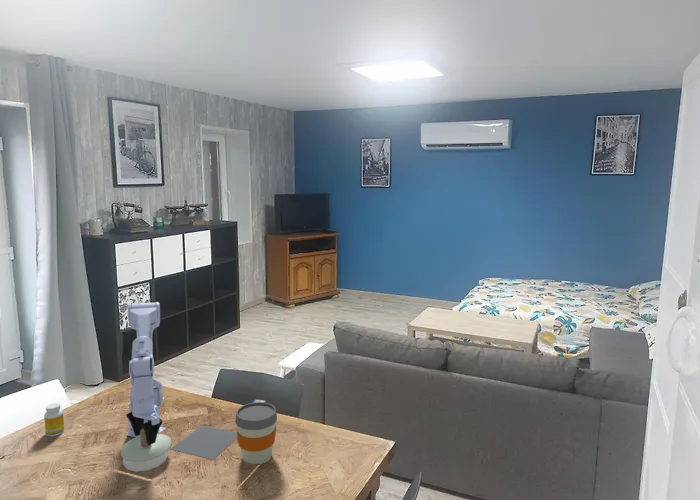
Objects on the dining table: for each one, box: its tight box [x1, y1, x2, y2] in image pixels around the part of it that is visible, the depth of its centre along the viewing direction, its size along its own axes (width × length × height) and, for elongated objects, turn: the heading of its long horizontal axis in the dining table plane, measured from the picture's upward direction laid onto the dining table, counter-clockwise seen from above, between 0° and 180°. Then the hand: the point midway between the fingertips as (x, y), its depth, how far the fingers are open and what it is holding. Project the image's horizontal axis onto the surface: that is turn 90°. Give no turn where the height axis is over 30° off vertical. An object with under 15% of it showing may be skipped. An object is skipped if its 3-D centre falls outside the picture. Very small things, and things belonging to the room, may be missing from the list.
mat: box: [170, 424, 238, 461], centre depth 153 cm, size 16×16×1 cm
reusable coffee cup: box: [234, 401, 278, 466], centre depth 145 cm, size 13×13×15 cm
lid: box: [120, 429, 172, 462], centre depth 142 cm, size 14×14×6 cm
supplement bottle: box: [43, 402, 65, 437], centre depth 157 cm, size 5×5×10 cm
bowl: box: [122, 450, 169, 472], centre depth 142 cm, size 12×12×4 cm
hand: (145, 439), depth 142 cm, fingers open, 7 cm apart
